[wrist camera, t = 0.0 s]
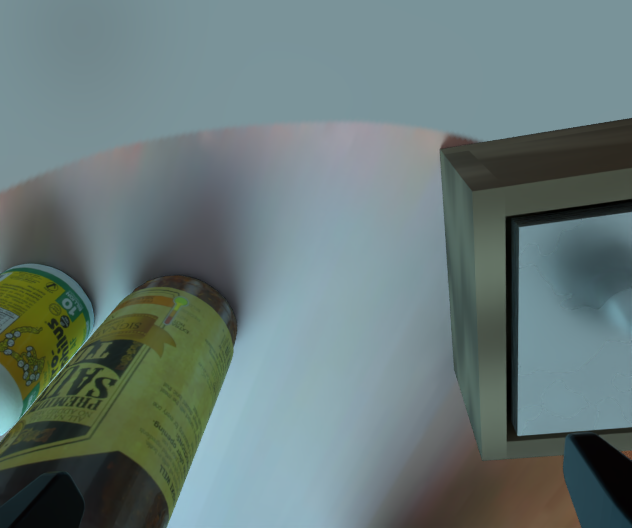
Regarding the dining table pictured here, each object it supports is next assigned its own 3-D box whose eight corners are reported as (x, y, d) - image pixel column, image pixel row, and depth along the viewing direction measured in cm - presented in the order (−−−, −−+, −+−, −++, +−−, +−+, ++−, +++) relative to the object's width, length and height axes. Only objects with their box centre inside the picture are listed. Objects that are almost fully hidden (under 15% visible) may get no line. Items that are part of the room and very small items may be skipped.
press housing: (697, 345, 24) (800, 438, 18) (454, 369, 25) (482, 460, 20) (749, 99, 18) (913, 126, 13) (439, 149, 20) (472, 191, 15)
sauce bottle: (179, 245, 23) (-408, 971, 5) (266, 328, 25) (52, 1073, 7) (99, 314, 25) (-505, 993, 7) (184, 386, 27) (-136, 1066, 9)
